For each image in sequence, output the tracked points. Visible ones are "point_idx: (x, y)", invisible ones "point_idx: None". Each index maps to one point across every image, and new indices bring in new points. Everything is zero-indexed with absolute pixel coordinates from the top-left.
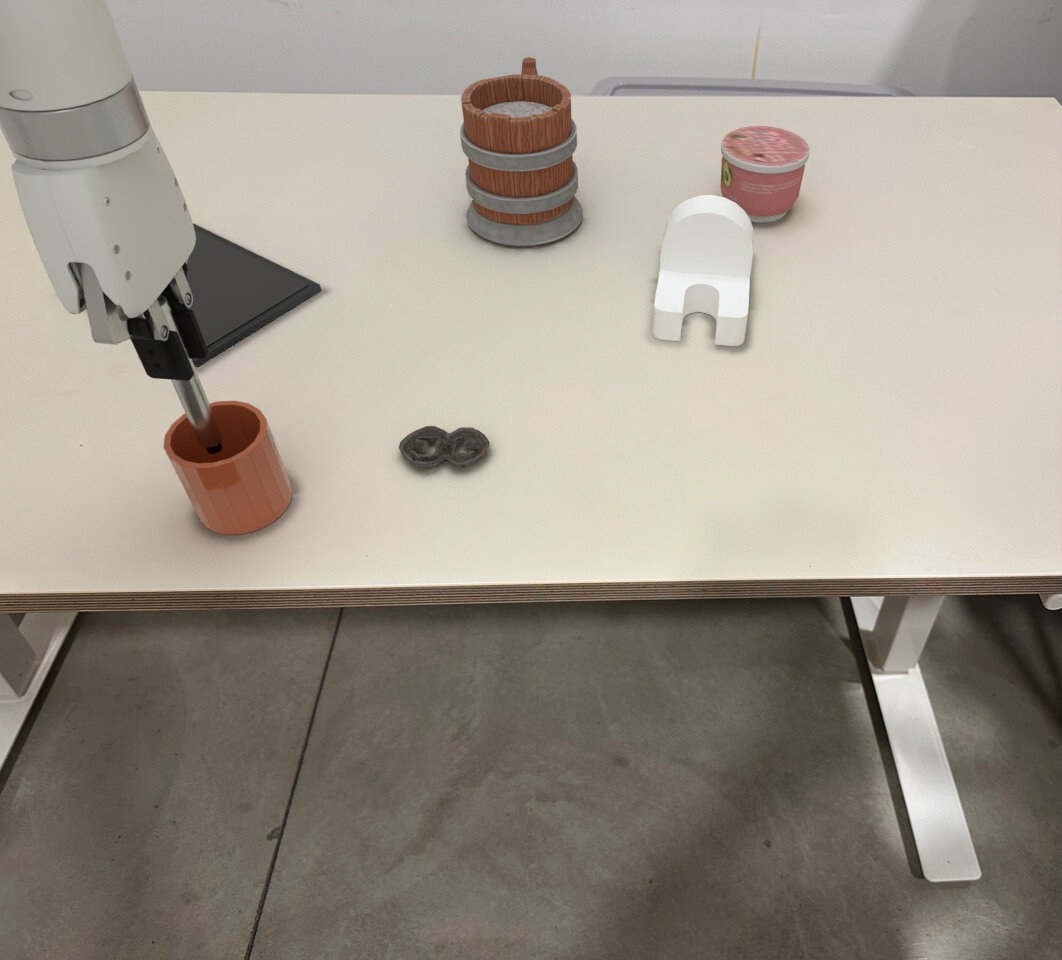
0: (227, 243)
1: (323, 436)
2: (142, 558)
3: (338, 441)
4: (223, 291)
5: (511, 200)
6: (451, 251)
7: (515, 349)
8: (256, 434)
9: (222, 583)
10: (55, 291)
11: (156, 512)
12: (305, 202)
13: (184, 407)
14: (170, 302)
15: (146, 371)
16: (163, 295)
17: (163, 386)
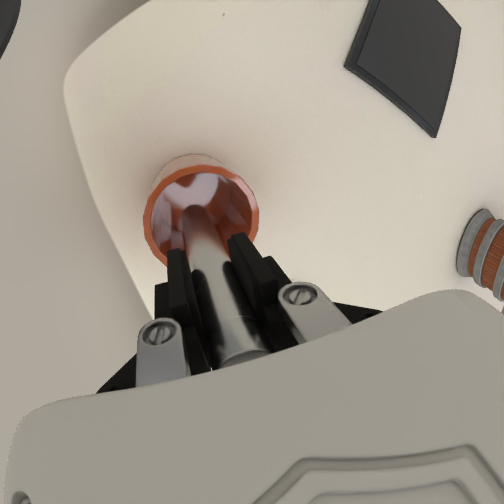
0: (454, 56)
1: (283, 217)
2: (107, 151)
3: (280, 232)
4: (419, 65)
5: (481, 264)
6: (459, 213)
7: (380, 297)
8: (240, 216)
9: (109, 231)
10: (4, 493)
11: (157, 126)
12: (486, 98)
13: (185, 237)
14: (281, 349)
15: (167, 254)
16: (294, 340)
17: (314, 46)
